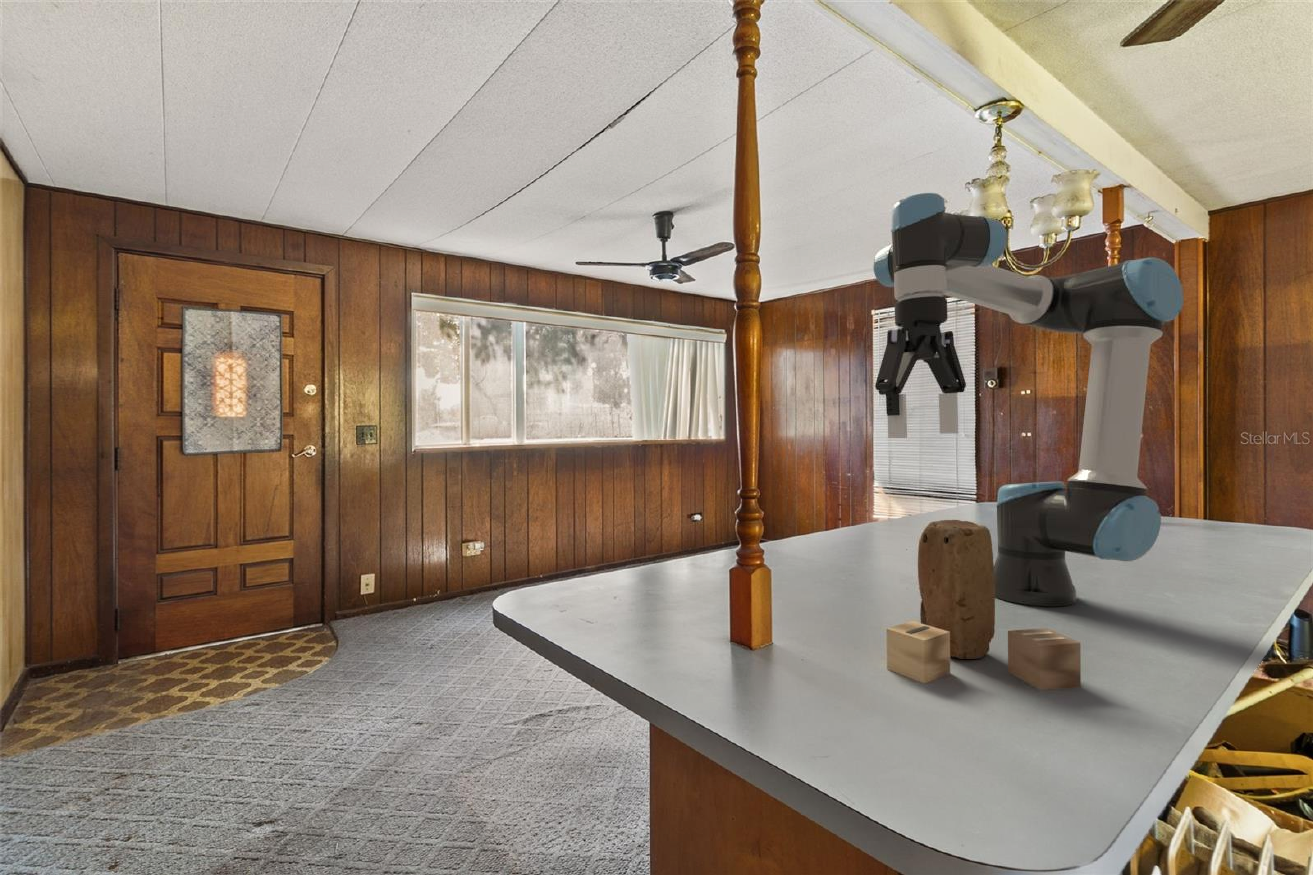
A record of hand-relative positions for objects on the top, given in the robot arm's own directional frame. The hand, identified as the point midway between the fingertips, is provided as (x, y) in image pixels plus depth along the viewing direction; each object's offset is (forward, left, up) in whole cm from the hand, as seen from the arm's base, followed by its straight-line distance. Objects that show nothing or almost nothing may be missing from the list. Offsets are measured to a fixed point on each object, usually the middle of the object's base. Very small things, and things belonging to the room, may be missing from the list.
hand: (924, 435), depth 96 cm
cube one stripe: (+7, +7, -34) cm, 35 cm away
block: (-4, +2, -34) cm, 34 cm away
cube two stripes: (-7, +15, -34) cm, 37 cm away
